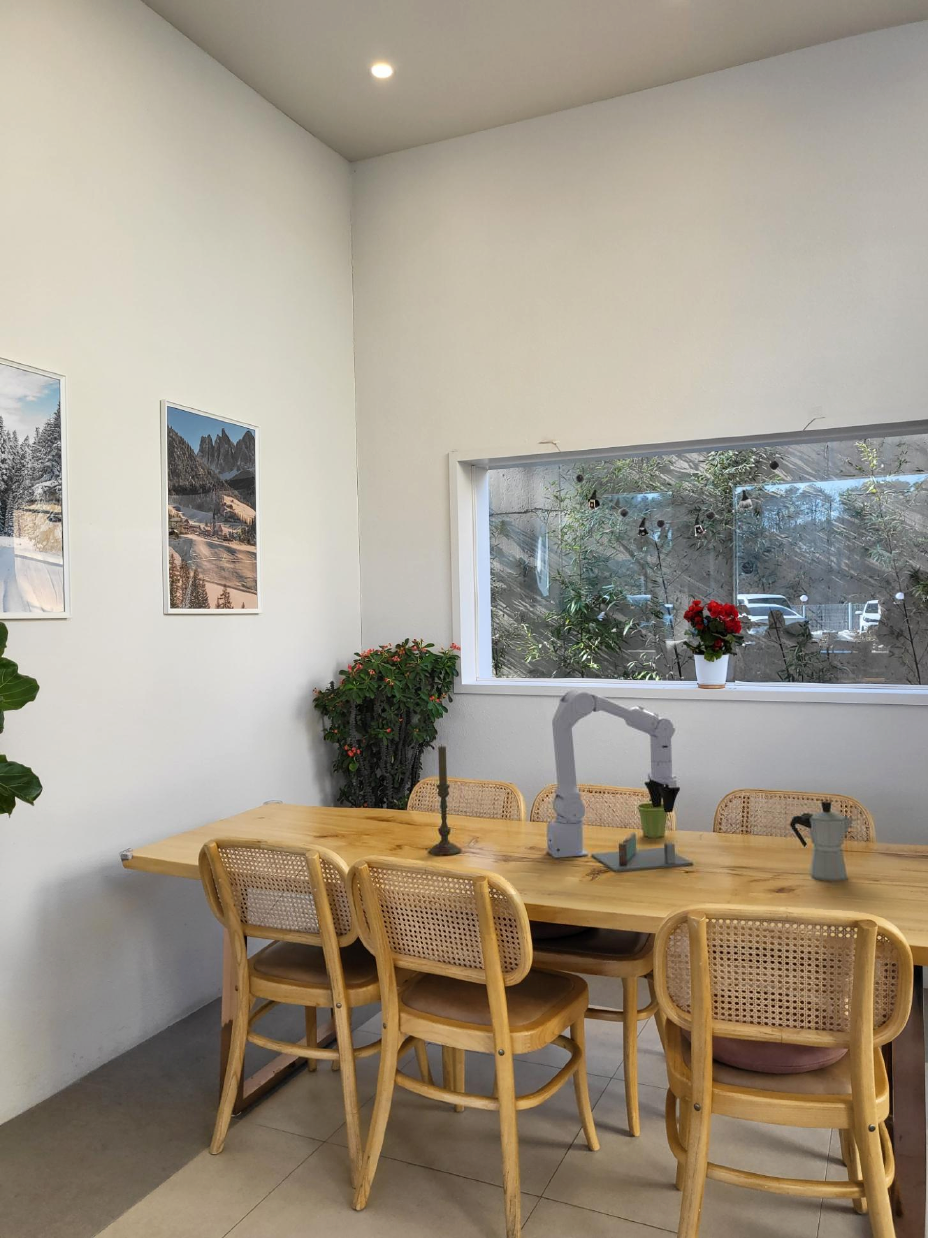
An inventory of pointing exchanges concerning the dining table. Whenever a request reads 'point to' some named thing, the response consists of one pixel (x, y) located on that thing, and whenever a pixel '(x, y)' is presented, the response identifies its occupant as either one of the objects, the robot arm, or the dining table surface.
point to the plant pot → (652, 820)
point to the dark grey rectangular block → (669, 853)
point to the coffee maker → (825, 842)
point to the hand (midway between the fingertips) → (662, 809)
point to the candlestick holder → (443, 811)
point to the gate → (630, 845)
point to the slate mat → (640, 860)
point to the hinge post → (622, 854)
